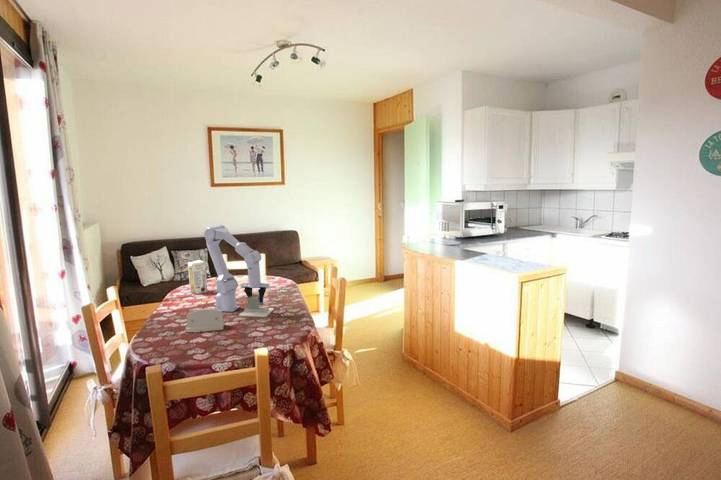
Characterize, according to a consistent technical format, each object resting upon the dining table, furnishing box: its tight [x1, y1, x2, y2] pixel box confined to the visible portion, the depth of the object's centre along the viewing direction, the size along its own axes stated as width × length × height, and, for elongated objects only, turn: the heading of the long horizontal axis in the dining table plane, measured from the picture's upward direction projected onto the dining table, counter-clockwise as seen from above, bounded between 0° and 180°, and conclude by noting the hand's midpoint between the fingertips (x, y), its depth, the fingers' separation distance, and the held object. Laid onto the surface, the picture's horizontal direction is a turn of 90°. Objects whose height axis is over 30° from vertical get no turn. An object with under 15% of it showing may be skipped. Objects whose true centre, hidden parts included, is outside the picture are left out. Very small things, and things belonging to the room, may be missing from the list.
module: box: [247, 293, 264, 309], centre depth 204 cm, size 5×7×6 cm
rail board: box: [238, 307, 275, 318], centre depth 206 cm, size 14×11×2 cm
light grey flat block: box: [185, 308, 226, 333], centre depth 186 cm, size 17×5×10 cm, turn 102°
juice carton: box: [187, 259, 208, 295], centre depth 244 cm, size 8×9×19 cm
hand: (256, 301), depth 205 cm, fingers closed on module, 5 cm apart
